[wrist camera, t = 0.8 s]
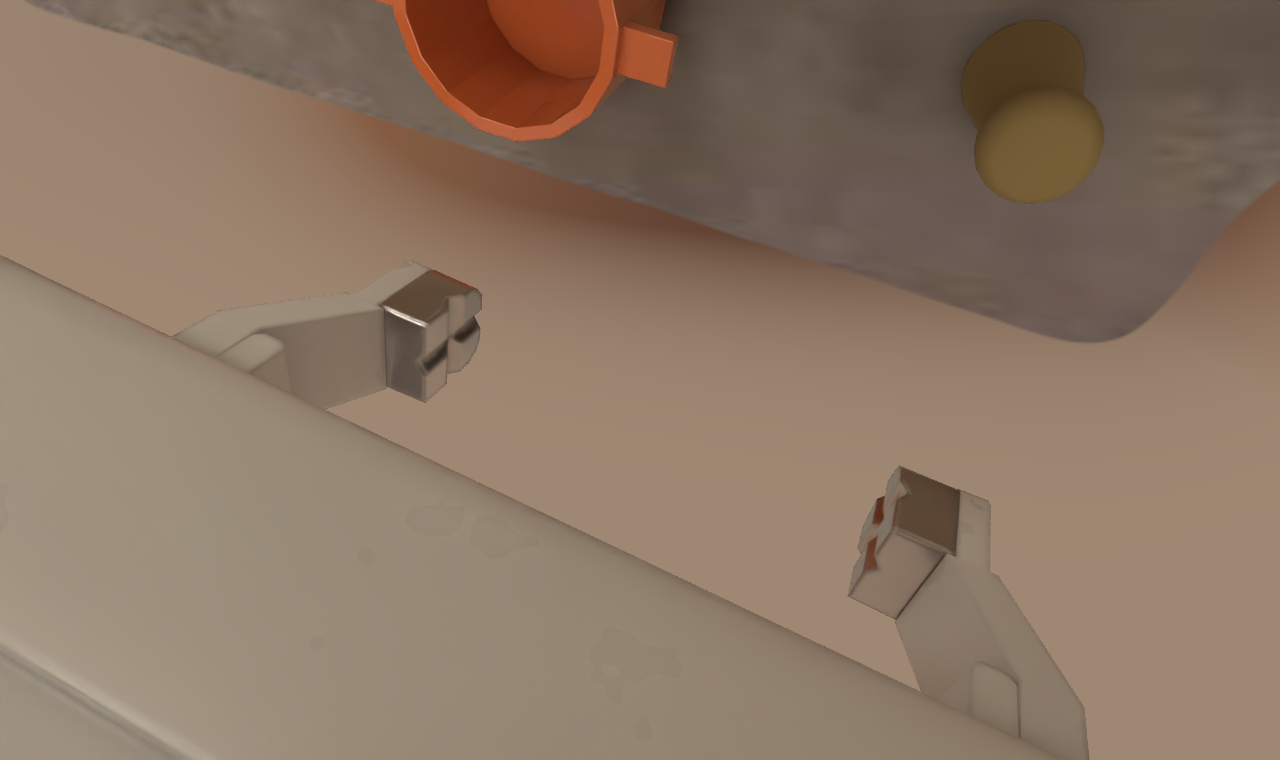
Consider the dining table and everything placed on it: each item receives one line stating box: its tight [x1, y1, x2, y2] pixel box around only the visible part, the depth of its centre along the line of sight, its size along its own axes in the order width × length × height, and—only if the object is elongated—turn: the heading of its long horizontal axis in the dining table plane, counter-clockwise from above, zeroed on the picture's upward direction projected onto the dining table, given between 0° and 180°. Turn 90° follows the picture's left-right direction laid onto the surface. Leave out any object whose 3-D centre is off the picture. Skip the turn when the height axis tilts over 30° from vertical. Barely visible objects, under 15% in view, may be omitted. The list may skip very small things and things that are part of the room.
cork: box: [961, 21, 1104, 203], centre depth 36 cm, size 6×6×11 cm
